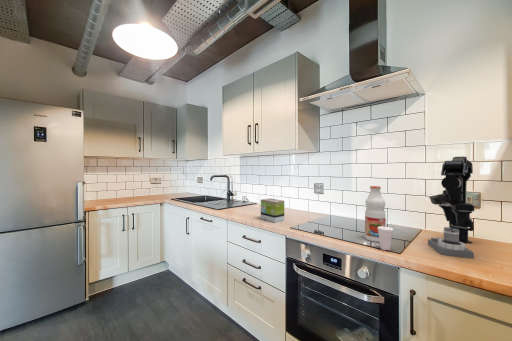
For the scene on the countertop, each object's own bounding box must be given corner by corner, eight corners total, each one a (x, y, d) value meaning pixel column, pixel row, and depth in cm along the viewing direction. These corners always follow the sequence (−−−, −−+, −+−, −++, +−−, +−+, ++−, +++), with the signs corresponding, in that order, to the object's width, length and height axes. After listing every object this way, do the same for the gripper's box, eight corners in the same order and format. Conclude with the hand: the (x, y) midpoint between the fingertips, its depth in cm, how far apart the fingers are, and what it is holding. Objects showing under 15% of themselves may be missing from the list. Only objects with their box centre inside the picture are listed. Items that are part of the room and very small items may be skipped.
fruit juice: (377, 236, 119) (378, 185, 119) (389, 242, 110) (390, 187, 110) (361, 236, 119) (361, 185, 119) (371, 242, 109) (372, 186, 109)
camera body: (427, 244, 107) (428, 235, 107) (455, 247, 104) (455, 237, 104) (441, 254, 94) (441, 244, 94) (473, 258, 91) (473, 247, 91)
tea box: (260, 219, 159) (260, 199, 159) (269, 217, 166) (269, 198, 166) (275, 223, 148) (275, 201, 148) (284, 220, 154) (284, 200, 154)
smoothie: (394, 248, 101) (394, 218, 101) (391, 252, 96) (392, 221, 96) (379, 245, 105) (379, 216, 105) (375, 249, 100) (376, 218, 100)
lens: (441, 244, 100) (441, 226, 100) (455, 245, 99) (455, 227, 99) (446, 247, 96) (447, 229, 96) (461, 249, 94) (461, 230, 94)
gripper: (424, 186, 109) (423, 217, 109) (441, 189, 91) (441, 227, 91) (451, 187, 105) (451, 219, 105) (475, 190, 87) (475, 229, 87)
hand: (453, 223), depth 97 cm, fingers open, 9 cm apart
